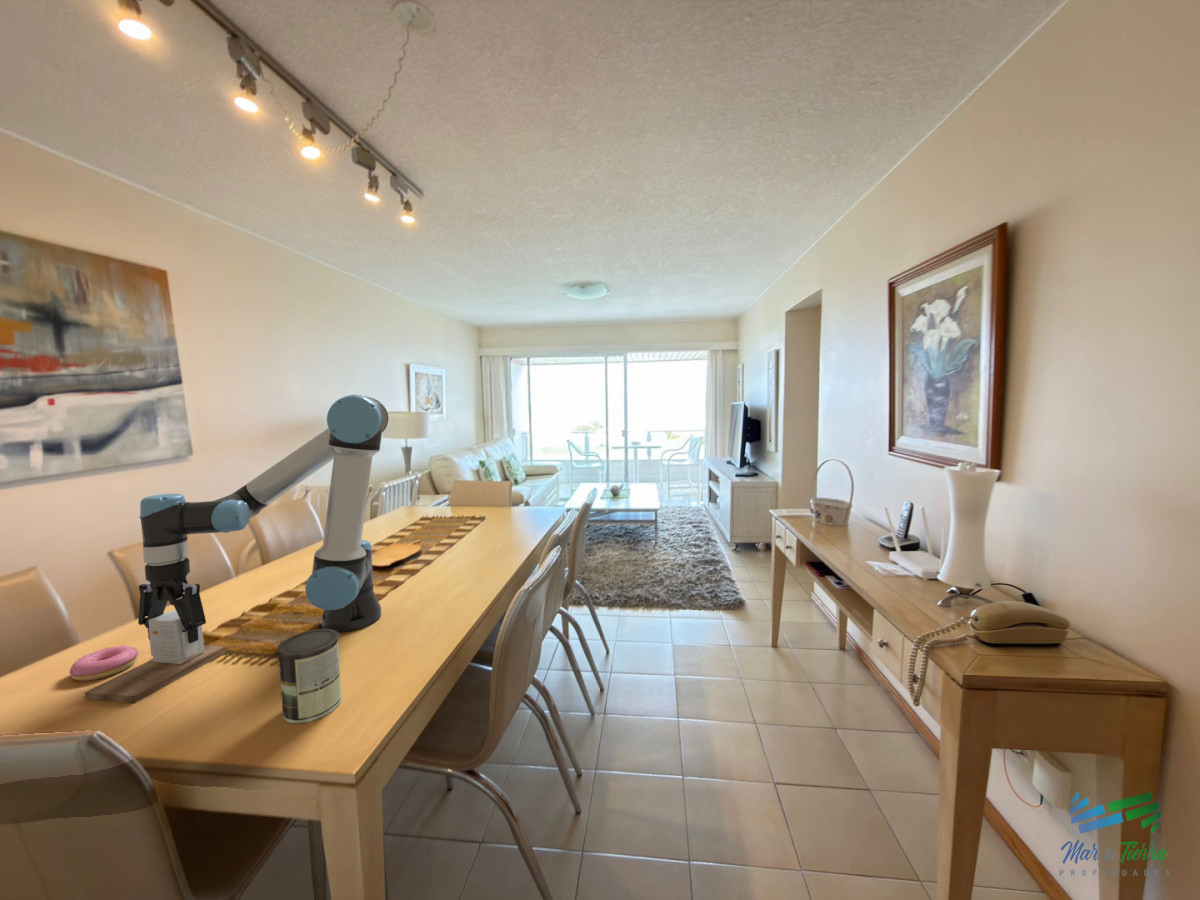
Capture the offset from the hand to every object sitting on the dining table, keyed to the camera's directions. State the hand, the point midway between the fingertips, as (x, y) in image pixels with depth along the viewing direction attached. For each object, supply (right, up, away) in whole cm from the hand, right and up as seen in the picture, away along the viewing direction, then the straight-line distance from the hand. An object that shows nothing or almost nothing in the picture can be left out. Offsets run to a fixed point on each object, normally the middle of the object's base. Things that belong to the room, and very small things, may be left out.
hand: (174, 653), depth 107 cm
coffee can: (+43, -4, -15) cm, 46 cm away
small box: (0, -1, +1) cm, 2 cm away
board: (0, -3, -3) cm, 4 cm away
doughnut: (-15, -4, -1) cm, 15 cm away
